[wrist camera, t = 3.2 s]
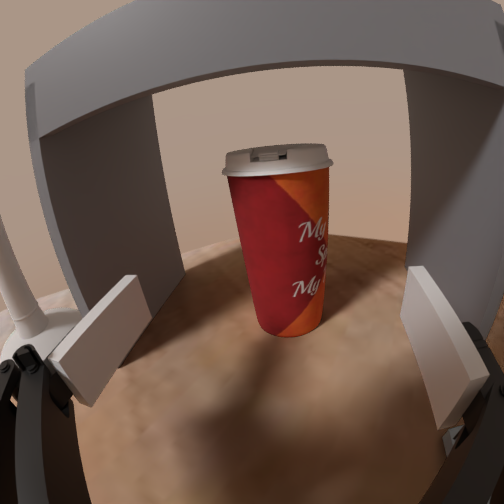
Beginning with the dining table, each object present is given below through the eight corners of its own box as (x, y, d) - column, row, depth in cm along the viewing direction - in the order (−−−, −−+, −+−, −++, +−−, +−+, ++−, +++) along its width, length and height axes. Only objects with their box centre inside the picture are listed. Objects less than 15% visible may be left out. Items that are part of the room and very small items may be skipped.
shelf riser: (413, 266, 28) (410, 53, 18) (472, 367, 14) (500, 5, 4) (176, 274, 34) (140, 81, 24) (108, 365, 19) (25, 69, 10)
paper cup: (334, 347, 19) (335, 147, 14) (235, 344, 21) (201, 159, 16) (332, 291, 26) (329, 141, 21) (256, 291, 28) (237, 148, 22)
